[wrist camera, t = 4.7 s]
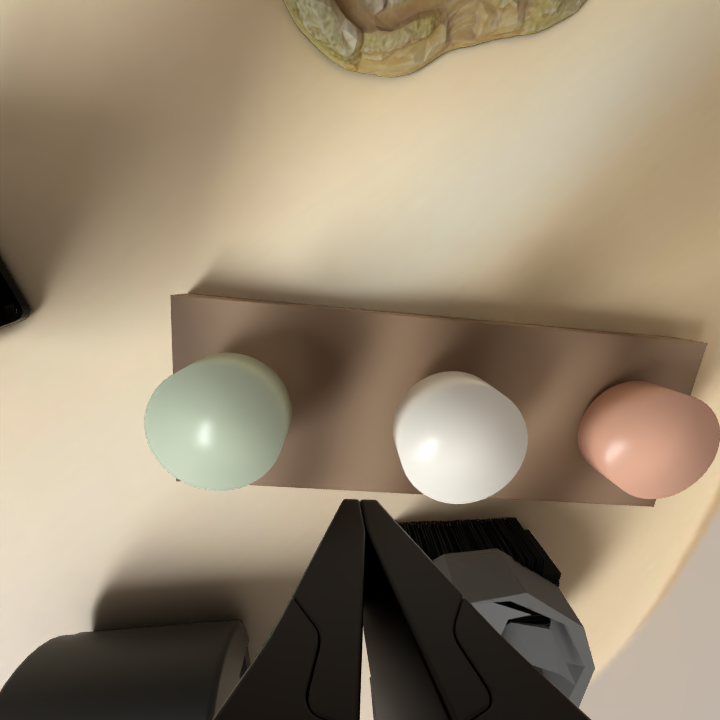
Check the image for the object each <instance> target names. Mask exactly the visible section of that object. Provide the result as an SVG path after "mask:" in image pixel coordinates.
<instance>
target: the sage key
mask: <svg viewBox="0 0 720 720" xmlns="http://www.w3.org/2000/svg"><path fill="white" fill-rule="evenodd" d="M291 417H292V406H291V400H290V397H289V393H288V391H287V389H286V387H285V385H284V383H283V382H282V380H281V379H280V378H279V376H278V375H277V374H276V373H275V372H274V371H273V370H272V369H271V368H270V367H268V366H267V365H266V364H264V363H263V362H261V361H259V360H257V359H255V358H253V357H250V356H247V355H243V354H238V353H217V354H213V355H209V356H206V357H204V358H201V359H199V360H198V361H196V362H194V363H192V364H190V365H189V366H187V367H185V368H183V369H181V370H180V371H178V372H176V373H174V374H173V375H171V376H169V377H168V378H167V379H166V380H164V381H163V382H162V383H161V384H160V385H159V386H158V387H157V389H156V390H155V391H154V393H153V394H152V396H151V398H150V400H149V402H148V405H147V408H146V413H145V434H146V438H147V441H148V444H149V447H150V449H151V451H152V453H153V454H154V456H155V458H156V459H157V460H158V462H159V463H160V464H161V465H162V466H163V467H164V468H165V469H166V470H167V471H168V472H169V473H170V474H171V475H173V476H174V477H176V478H177V479H179V480H180V481H182V482H184V483H186V484H189V485H191V486H194V487H197V488H201V489H205V490H213V491H226V490H233V489H238V488H241V487H244V486H247V485H249V484H251V483H253V482H255V481H257V480H258V479H260V478H261V477H262V476H264V475H265V474H266V473H267V472H268V471H269V470H270V469H271V467H272V466H273V465H274V463H275V462H276V460H277V458H278V456H279V454H280V452H281V449H282V446H283V444H284V441H285V438H286V435H287V433H288V430H289V427H290V423H291Z"/></svg>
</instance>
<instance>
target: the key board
mask: <svg viewBox="0 0 720 720" xmlns="http://www.w3.org/2000/svg"><path fill="white" fill-rule="evenodd" d="M171 323H172V355H173V374H174V373H176V372H178V371H180V370H181V369H183V368H185V367H187V366H189V365H190V364H192V363H194V362H196V361H198V360H199V359H201V358H204V357H206V356H209V355H213V354H217V353H238V354H243V355H247V356H250V357H253V358H255V359H257V360H259V361H261V362H263V363H264V364H266V365H267V366H268V367H270V368H271V369H272V370H273V371H274V372H275V373H276V374H277V375H278V376H279V378H280V379H281V380H282V382H283V383H284V385H285V387H286V389H287V391H288V393H289V397H290V400H291V406H292V417H291V423H290V427H289V430H288V433H287V435H286V438H285V441H284V444H283V446H282V449H281V452H280V454H279V456H278V458H277V460H276V462H275V463H274V465H273V466H272V467H271V469H270V470H269V471H268V472H267V473H266V474H265V475H264V476H262V477H261V478H260V479H258V480H257V481H255V482H253V483H251V484H249V485H259V486H278V487H296V488H315V489H334V490H352V491H371V492H390V493H408V494H423V493H421V492H420V491H419V490H418V489H417V488H416V487H414V486H413V484H412V483H411V482H410V481H409V479H408V477H407V476H406V474H405V472H404V469H403V467H402V464H401V461H400V457H399V454H398V451H397V448H396V445H395V441H394V437H393V419H394V414H395V411H396V408H397V406H398V404H399V402H400V401H401V399H402V398H403V396H404V395H405V394H406V392H407V391H408V390H409V389H410V388H411V387H412V386H414V385H415V384H416V383H418V382H419V381H421V380H422V379H424V378H426V377H428V376H431V375H433V374H437V373H441V372H448V371H458V372H465V373H469V374H472V375H474V376H477V377H479V378H480V379H482V380H484V381H485V382H487V383H488V384H489V385H491V386H492V387H493V388H495V389H496V390H498V391H499V392H500V393H502V394H503V395H505V396H506V397H507V398H508V399H510V400H511V401H512V402H513V403H514V404H515V405H516V407H517V408H518V409H519V411H520V412H521V414H522V416H523V418H524V421H525V424H526V428H527V434H528V444H527V451H526V454H525V458H524V460H523V463H522V465H521V467H520V469H519V470H518V472H517V473H516V475H515V476H514V477H513V479H512V480H511V481H510V482H509V483H508V484H507V485H506V486H505V487H503V488H502V489H501V490H499V491H498V492H496V493H495V494H493V495H491V496H489V497H487V498H502V499H521V500H539V501H558V502H577V503H595V504H614V505H633V506H651V507H654V504H655V501H656V499H643V498H638V497H635V496H632V495H630V494H628V493H626V492H625V491H623V490H622V489H621V488H619V487H618V486H617V485H615V484H614V483H613V482H611V481H610V480H609V479H607V478H606V477H605V476H603V475H602V474H601V473H599V472H598V471H597V470H595V469H594V468H593V467H592V466H590V465H589V464H588V463H587V462H586V460H585V459H584V458H583V456H582V454H581V452H580V449H579V445H578V430H579V425H580V422H581V419H582V417H583V415H584V413H585V411H586V410H587V408H588V407H589V406H590V404H591V403H592V402H593V401H594V400H595V399H596V398H597V397H598V396H599V395H600V394H602V393H603V392H605V391H606V390H608V389H609V388H611V387H613V386H615V385H618V384H621V383H625V382H630V381H645V382H649V383H653V384H656V385H659V386H662V387H665V388H668V389H671V390H674V391H677V392H680V393H683V394H685V395H688V396H690V394H691V391H692V388H693V385H694V382H695V379H696V376H697V373H698V370H699V367H700V364H701V361H702V357H703V354H704V351H705V348H706V345H707V343H703V342H697V341H692V340H686V339H680V338H672V337H661V336H650V335H639V334H628V333H616V332H605V331H594V330H583V329H572V328H561V327H550V326H539V325H528V324H517V323H506V322H495V321H484V320H472V319H461V318H450V317H439V316H428V315H417V314H406V313H395V312H384V311H373V310H362V309H351V308H340V307H328V306H317V305H306V304H295V303H284V302H273V301H262V300H251V299H240V298H229V297H218V296H207V295H196V294H177V295H171ZM176 481H180V480H179V479H177V478H176Z"/></svg>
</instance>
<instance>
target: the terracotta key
mask: <svg viewBox="0 0 720 720" xmlns="http://www.w3.org/2000/svg"><path fill="white" fill-rule="evenodd" d="M719 442H720V427H719V423H718V420H717V418H716V416H715V414H714V412H713V411H712V409H711V408H710V407H709V406H708V405H707V404H705V403H704V402H702V401H701V400H699V399H697V398H694V397H691V396H688V395H685V394H683V393H680V392H677V391H674V390H671V389H668V388H665V387H662V386H659V385H656V384H653V383H649V382H645V381H630V382H625V383H621V384H618V385H615V386H613V387H611V388H609V389H608V390H606V391H605V392H603V393H602V394H600V395H599V396H598V397H597V398H596V399H595V400H594V401H593V402H592V403H591V404H590V406H589V407H588V408H587V410H586V411H585V413H584V415H583V417H582V419H581V422H580V425H579V430H578V445H579V449H580V452H581V454H582V456H583V458H584V459H585V460H586V462H587V463H588V464H589V465H590V466H592V467H593V468H594V469H595V470H597V471H598V472H599V473H601V474H602V475H603V476H605V477H606V478H607V479H609V480H610V481H611V482H613V483H614V484H615V485H617V486H618V487H619V488H621V489H622V490H623V491H625V492H626V493H628V494H630V495H632V496H635V497H638V498H643V499H659V498H665V497H669V496H672V495H675V494H677V493H679V492H681V491H683V490H685V489H687V488H688V487H690V486H691V485H692V484H694V483H695V482H696V481H697V480H698V479H700V478H701V477H702V475H703V474H704V473H705V472H706V471H707V469H708V468H709V467H710V465H711V464H712V462H713V460H714V458H715V456H716V453H717V450H718V447H719Z"/></svg>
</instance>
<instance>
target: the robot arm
mask: <svg viewBox="0 0 720 720" xmlns="http://www.w3.org/2000/svg"><path fill="white" fill-rule="evenodd" d="M14 306H15V307H16V309H17V313H15V312H14V310H13V307H14ZM29 315H30V307H29V305H28V303H27V301H26V300H25V298H24V296H23V295H22V293H21V291H20V290H19V288H18V286H17V284H16V283H15V281H14V279H13V278H12V276H11V274H10V273H9V271H8V269H7V268H6V266H5V264H4V262H3V261H2V259H1V257H0V329H1V328H4V327H6V326H9V325H12V324H14V323H17V322H20V321H22V320H25V319H27V318H28V317H29ZM363 628H364V635H365V642H366V648H367V655H368V661H369V668H370V674H371V681H372V688H373V694H374V701H375V707H376V714H377V720H591V719H590V718H589V717H588V716H587V715H586V714H584V713H583V712H582V711H581V710H580V709H579V708H578V707H577V706H576V705H575V704H574V703H573V702H571V701H570V700H569V699H568V698H567V697H566V696H565V695H564V694H563V693H562V692H561V691H560V690H559V689H557V688H556V687H555V686H554V685H553V684H552V683H551V682H550V681H549V680H548V679H547V678H546V677H545V676H543V675H542V674H541V673H540V672H539V671H538V670H537V669H536V668H535V667H534V666H533V665H532V664H530V663H529V662H528V661H527V660H526V659H525V658H524V657H523V656H522V655H521V654H520V653H519V652H518V651H517V650H516V649H515V648H514V647H513V646H512V645H511V644H510V643H508V642H507V641H506V640H505V639H504V638H503V637H502V636H501V635H500V634H499V633H498V632H497V631H496V630H495V629H494V628H493V627H492V626H491V624H490V623H489V622H488V621H487V620H486V619H485V618H484V617H483V616H482V615H481V614H480V613H479V612H478V611H477V610H476V609H475V608H474V606H473V605H472V604H471V603H470V602H469V601H468V600H467V599H466V598H463V595H462V593H461V592H460V591H459V590H458V589H457V588H456V587H455V586H454V585H453V584H452V582H451V581H450V580H449V579H448V578H447V577H446V576H445V575H444V574H443V573H442V572H441V570H440V569H439V568H438V567H437V566H436V565H435V564H434V563H433V562H432V561H431V559H430V558H429V557H428V556H427V555H426V554H425V553H424V552H423V551H422V550H421V548H420V547H419V546H418V545H417V544H416V543H415V542H414V541H413V540H412V539H411V537H410V536H409V535H408V534H407V533H406V532H405V531H404V530H403V529H402V528H401V527H400V525H399V524H398V523H397V522H396V521H395V520H394V519H393V518H392V517H391V516H390V514H389V513H388V512H387V511H386V510H385V509H384V508H383V507H382V506H381V505H380V503H379V502H378V501H376V500H361V501H359V500H357V499H344V500H343V501H342V503H341V505H340V507H339V509H338V510H337V512H336V514H335V516H334V518H333V520H332V522H331V524H330V526H329V527H328V529H327V531H326V533H325V535H324V537H323V539H322V541H321V542H320V544H319V546H318V548H317V550H316V552H315V554H314V556H313V557H312V559H311V561H310V563H309V565H308V567H307V569H306V571H305V572H304V574H303V576H302V578H301V580H300V582H299V584H298V586H297V588H296V589H295V591H294V593H293V595H292V599H290V600H289V602H288V604H287V606H286V608H285V610H284V612H283V613H282V615H281V617H280V619H279V620H278V622H277V624H276V626H275V627H274V629H273V631H272V633H271V634H270V636H269V638H268V639H267V641H266V642H265V644H264V645H263V647H262V648H261V650H260V651H259V653H258V654H257V656H256V658H255V659H254V661H253V662H252V664H251V665H250V667H249V668H248V669H247V671H246V672H245V674H244V675H243V677H242V678H241V679H240V681H239V682H238V684H237V685H236V686H235V688H234V689H233V691H232V692H231V694H230V695H229V696H228V698H227V699H226V701H225V702H224V704H223V705H222V706H221V708H220V709H219V711H218V712H217V714H216V715H215V716H214V718H213V719H212V720H360V693H361V665H362V637H363Z"/></svg>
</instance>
